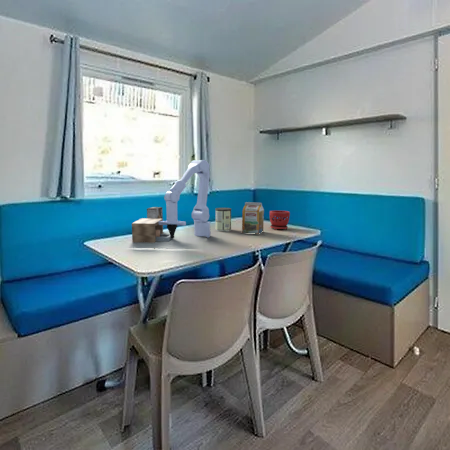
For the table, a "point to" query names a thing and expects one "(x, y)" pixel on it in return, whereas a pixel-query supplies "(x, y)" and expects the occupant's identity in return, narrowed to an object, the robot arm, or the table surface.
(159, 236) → the tan rounded smooth part
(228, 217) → the coffee can
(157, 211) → the coffee box
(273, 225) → the plant pot
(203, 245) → the table surface
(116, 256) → the table surface
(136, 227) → the brown boxy block
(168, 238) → the tray
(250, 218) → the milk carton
